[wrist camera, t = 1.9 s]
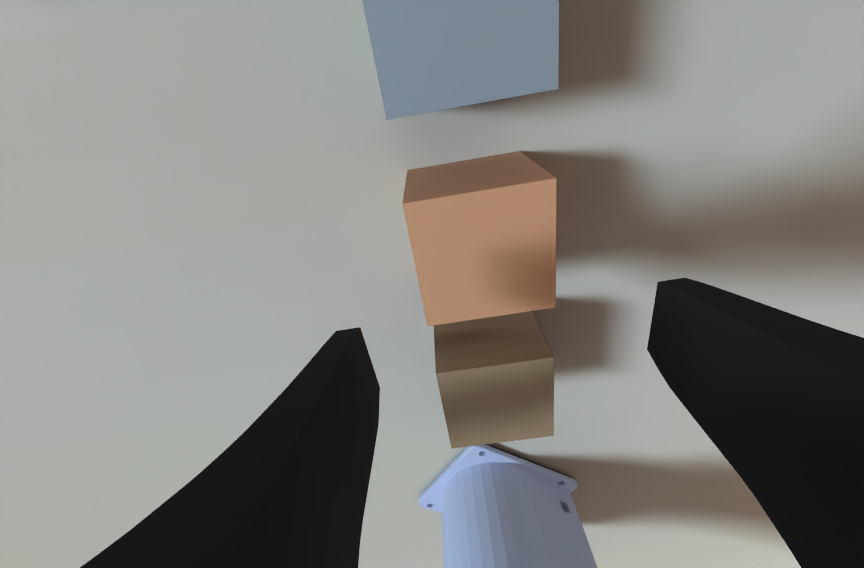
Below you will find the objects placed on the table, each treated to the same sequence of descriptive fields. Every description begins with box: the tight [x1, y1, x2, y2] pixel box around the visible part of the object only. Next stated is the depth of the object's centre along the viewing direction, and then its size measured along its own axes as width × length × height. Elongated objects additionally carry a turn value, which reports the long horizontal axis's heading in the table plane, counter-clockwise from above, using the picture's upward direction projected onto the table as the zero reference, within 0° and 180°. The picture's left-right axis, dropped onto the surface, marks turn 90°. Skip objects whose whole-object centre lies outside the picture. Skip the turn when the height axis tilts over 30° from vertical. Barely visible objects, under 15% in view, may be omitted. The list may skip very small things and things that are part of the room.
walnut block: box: [434, 311, 554, 448], centre depth 19 cm, size 5×5×5 cm
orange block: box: [403, 151, 556, 326], centre depth 15 cm, size 5×5×5 cm
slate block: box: [362, 0, 559, 120], centre depth 12 cm, size 5×5×5 cm
